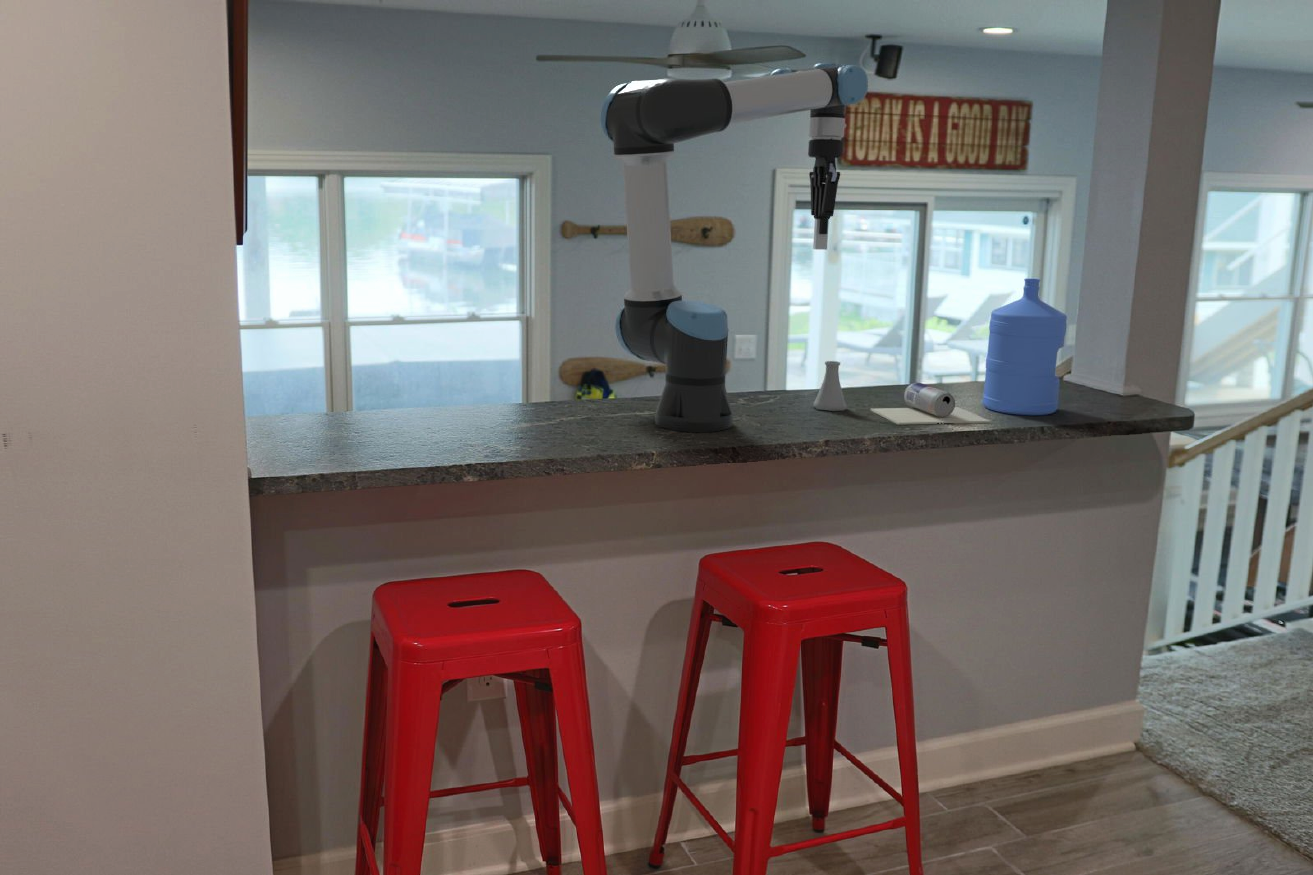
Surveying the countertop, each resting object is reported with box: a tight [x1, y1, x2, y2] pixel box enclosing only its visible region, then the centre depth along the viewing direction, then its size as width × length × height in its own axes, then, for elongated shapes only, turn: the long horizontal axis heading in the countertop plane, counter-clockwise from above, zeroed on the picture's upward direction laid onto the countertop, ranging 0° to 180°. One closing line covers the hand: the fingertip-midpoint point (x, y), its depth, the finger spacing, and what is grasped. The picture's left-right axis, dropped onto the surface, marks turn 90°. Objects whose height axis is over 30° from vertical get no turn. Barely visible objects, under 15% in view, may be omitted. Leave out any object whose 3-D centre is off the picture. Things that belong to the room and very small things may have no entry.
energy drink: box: [903, 381, 956, 417], centre depth 231 cm, size 5×5×12 cm
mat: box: [870, 406, 991, 426], centre depth 229 cm, size 20×14×1 cm
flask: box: [812, 360, 848, 412], centre depth 234 cm, size 7×7×10 cm
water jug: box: [981, 278, 1068, 416], centre depth 237 cm, size 16×16×28 cm
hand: (820, 249), depth 244 cm, fingers closed
